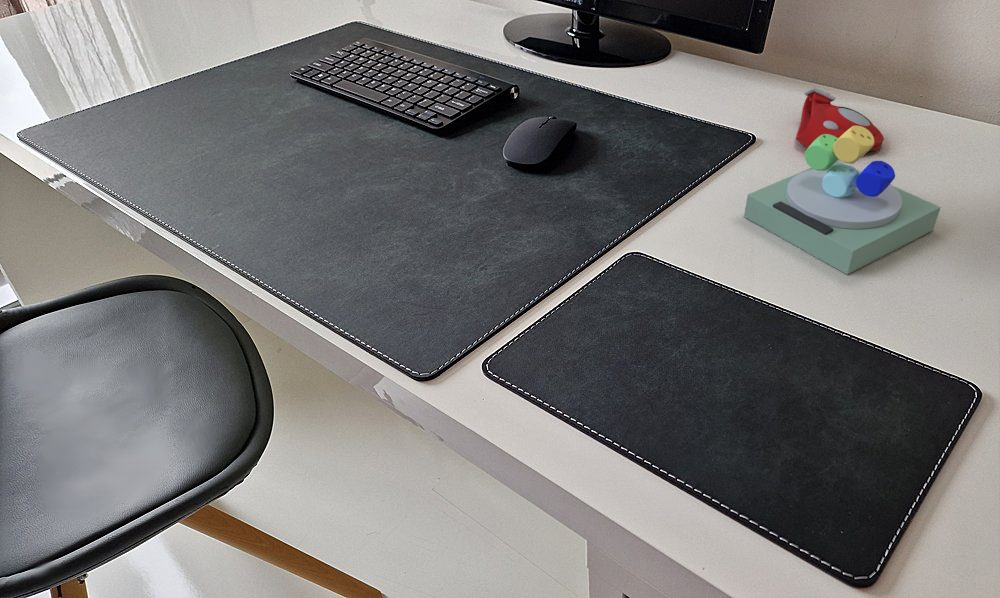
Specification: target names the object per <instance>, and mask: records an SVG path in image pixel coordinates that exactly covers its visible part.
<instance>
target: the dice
mask: <svg viewBox="0 0 1000 598" xmlns="http://www.w3.org/2000/svg"><path fill="white" fill-rule="evenodd" d="M873 146H874V137H873V135H872V134H871V132H870V131H869V130H867V129H866V128H864V127H862V126H852V127H851V128H850V129H848V130H847V131H846V132H845V133H844V134H843V135H841V136H840V137H839V138H837V137H835V136H833V135H829V134H823V135H821V136H819V137H818V138H817V139H816V140H815V141H814V142H813V143H812V144H811V145H810V146H809V147H808V148H806V150H805V152H804V159H805V162H806V164H807V165H808V166H809V168H813V169H815V170H818V171H826V170H828V169H829V168H830V167H831V166H832V165H833V164H834V163H835V162H836V161H838V160H839V161H840V162H841V163H843V164H845V165H843V164H840V165H835V166H832V167H831V168H830V169H829V170H828V171H827V172H826V174H825V176H824V178H823V181H822V187H823V189H824V191H825V192H826V193H827V194H829V195H830V196H833V197H838V198H843V197H848V196H850V195H852V194H853V193H854V191H855V190H856V188H858V190H859V191H860V192H861V193H862V194H864V195H866V196H870V197H876V196H879V195H880V194H881V193H882V192H883V191H884V190H885V189H886V188H887V187H888V186H889V185H890V184H892V182H893V181H894V180H895V178H896V173H895V170H894V167H893V166H891V165H890V164H889V163H887V162H885V161H883V160H873V161H871V162H870V163H869V164H868V165H867V166H865V167H864V168H863V170H862V171H861V173H859V172H858V171H859V170H858V169H857V168H855V167H854V166H852V165H853V164H855V163H856V162H858V161H859V160H860V159H862V158H863V157H864V156H865V155H866V154H867V153H869V150H870V149H871V148H872V147H873ZM849 164H850V165H849ZM851 164H852V165H851Z"/></svg>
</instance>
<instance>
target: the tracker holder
mask: <svg viewBox="0 0 1000 598" xmlns="http://www.w3.org/2000/svg"><path fill="white" fill-rule="evenodd" d="M804 95H805V96H806V98H805V101H804V102H803V106H802V111H801V118H800V124H799V127H798V129H797V133H796V136H795V140H796V141H797V142H799V143H800V144H801V145H802V146H803V147H805V148H806V149H808V147H809V146H810V145H811V144H812V143H813V142H814V141H815V140H816V139H817V138H818V137H819V136H821V135H823V134H829V135H833V136H835V137H837V138H839V137H840V136H841V135H843V134H844V133H845V132H846V131H847V130H848V129H850V128H851V127H852V126H862V127H864V128H866V129H867V130H869V131H870V132H871V134H872V135H873V137H874V146H873V147H872V148H871V149H870V150H869V151H871V152H873V151H876V150H879V149H880V147H881V146H882V144H883V142H884V135H883V134H882V132H881V131H880V129H878V127H876V126H875V125H874V124H873V122H872V120H870V119H869V118H868V117H867V116H865V115H863V114H862V113H860V112H859V111H857V110H854V109H852V108H849V107H846V106H840V105H835V104H832V102H834V101H835V100H836V97H835V96H833V95H832V94H831V93H828V92H826V91H824V90H822V89H819V88H817V87H815V86H813V87H811V88H809V89H808V90H806V91H804ZM869 151H868V152H869Z"/></svg>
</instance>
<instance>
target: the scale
mask: <svg viewBox="0 0 1000 598" xmlns="http://www.w3.org/2000/svg"><path fill="white" fill-rule="evenodd" d="M840 164H843V165H846V163H844V162H842V161H838V160H837V161H836V162H835V163H834V164H833V165H832V166H835V165H840ZM832 166H831V167H832ZM831 167H830V168H831ZM830 168H829V169H830ZM829 169H828V170H829ZM828 170H826V171H818V170H815V169H813V168H811V167H809V168H807V169H805V170H802V171H800V172H797V173H795V174H793V175H790V176H789V177H786V178H784V179H781V180H779V181H776V182H774V183H771V184H770V185H766V186H765V187H762V188H759V189H757V190H755V191H753V192H750V193H748V194H747V197H746V202H745V209H744V215H743V217H744V218H745V219H747V220H749V221H751V222H753V223H754V224H756V225H757V226H760V227H761V228H763V229H765V230H767V231H768V232H770V233H772V234H774V235H776V236H777V237H779V238H780V239H783V240H785V241H786V242H788V243H790V244H792V245H793V246H795V247H797V248H799V249H800V250H802V251H804V252H806V253H808V254H809V255H811V256H813V257H815V258H817V259H818V260H820V261H822V262H824V263H826V264H827V265H829V266H831V267H833V268H834V269H836V270H838V271H840V272H842V273H843V274H845V275H850V274H851V273H853V272H855V271H857V270H859V269H861V268H864V267H865V266H866V265H869V264H870V263H872V262H874V261H877V260H878V259H880V258H882V257H884V256H886V255H888V254H890V253H892V252H894V251H896V250H898V249H900V248H902V247H904V246H905V245H907V244H909V243H911V242H914V241H915V240H917V239H919V238H922V237H923V236H925V235H927V234H929V233H931V232H932V231H934V228H935V227H936V226H935V225H936V222H937V220H938V216H939V213H940V211H941V207H940V206H939V205H937V204H935V203H932V202H929V201H928V200H925V199H923V198H921V197H919V196H916V195H914V194H912V193H910V192H908V191H905V190H903V189H901V188H899V187H896V186H894V185H893V184H892V183H890V185H889V186H888V187H887V188H886V189H885V190H884V191H883V192H882V193H881V194H880V195H879V196H876V197H870V196H866V195H864V194H862V193H861V192H860V191H859V190H858V188H856V190H855V191H854V193H853V194H852V195H850V196H848V197H843V198H838V197H833V196H830V195H829V194H827V193H826V192H825V191H824V189H823V187H822V181H823V178H824V176H825V174H826V172H827V171H828ZM858 172H859V173H861V172H862V171H860V170H858Z"/></svg>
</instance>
